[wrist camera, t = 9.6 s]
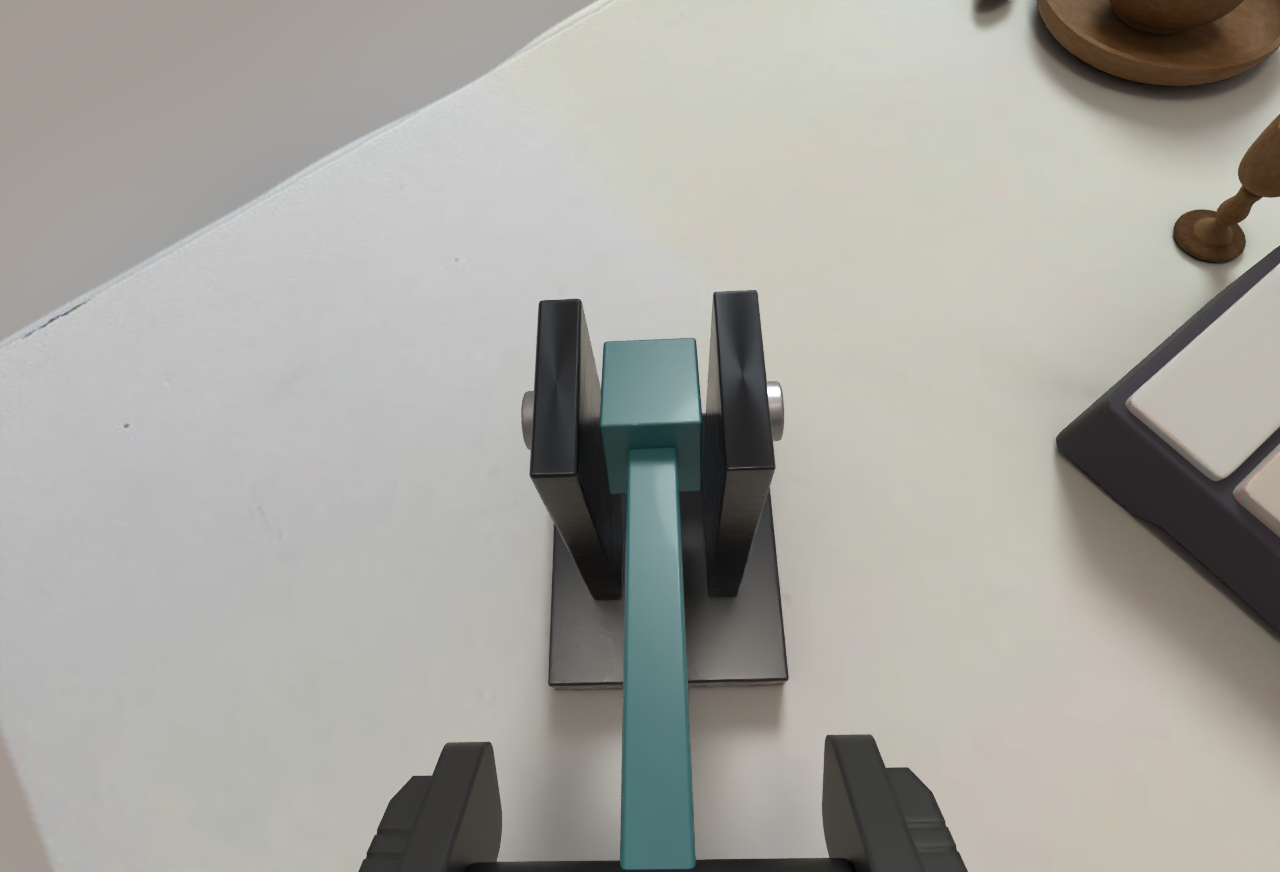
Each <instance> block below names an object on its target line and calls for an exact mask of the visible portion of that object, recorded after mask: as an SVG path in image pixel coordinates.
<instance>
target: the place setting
mask: <svg viewBox="0 0 1280 872" xmlns="http://www.w3.org/2000/svg"><path fill="white" fill-rule="evenodd" d="M1037 5H1038V8H1039V12H1040V15H1041V17H1042V19H1043V21H1044V23H1045V25H1046V27H1047V28H1048V30H1049V31H1050V32H1051V34H1052V35H1053V36H1054V38H1055V39H1056V40H1057V41H1058V42H1059V43H1060V44H1061V45H1062V46H1063V47H1064V48H1065V49H1067V50H1068V51H1069V52H1070V53H1072V54H1073V55H1074V56H1076V57H1077V58H1079V59H1080V60H1082V61H1084V62H1085V63H1087V64H1089V65H1091V66H1093V67H1095V68H1097V69H1099V70H1101V71H1104V72H1106V73H1109V74H1111V75H1114V76H1117V77H1121V78H1124V79H1127V80H1132V81H1136V82H1141V83H1147V84H1154V85H1166V86H1189V85H1198V84H1206V83H1211V82H1215V81H1220V80H1224V79H1227V78H1230V77H1233V76H1236V75H1238V74H1241V73H1243V72H1245V71H1247V70H1249V69H1251V68H1253V67H1255V66H1256V65H1258V64H1259V63H1260V62H1262V61H1263V60H1265V59H1266V58H1268V57H1269V56H1270V55H1271V54H1272V53H1273V52H1274V51H1275V50H1276V49H1277V48H1278V47H1279V46H1280V0H1037ZM1238 176H1239V180H1240V182H1241V184H1242V185H1243V186H1242V187H1241V188H1240V190H1239V192H1238V193H1237V194H1236V195H1235V196H1234V197H1232V198H1230V199H1228V200H1226V201H1224V202H1223V203H1222V204H1221V205H1220V206H1219V208H1218V210H1217V212H1215V211H1211V210H1194V211H1190V212H1187V213H1185V214H1183V215H1182V216H1181V217H1180V218H1179V219H1178V220H1177V222H1176V224H1175V227H1174V235H1175V238H1176V240H1177V242H1178V244H1179V245H1180V246H1181V247H1182V248H1183V249H1184V250H1185V251H1186V252H1188V253H1189V254H1191V255H1192V256H1194V257H1196V258H1199V259H1201V260H1205V261H1210V262H1225V261H1229V260H1231V259H1234V258H1235V257H1237V256H1238V255H1240V254H1241V252H1242V251H1243V249H1244V247H1245V243H1246V240H1245V235H1244V232H1243V231H1242V229H1241V228H1240V226H1239V225H1238V224H1237V223H1239V222H1241V221H1242V220H1244V219H1245V218H1246V217H1247V216H1248V214H1249V212H1250V209H1251V207H1252V205H1253V204H1254V203H1255V202H1256V201H1258V200H1259V199H1261V198H1262V197H1279V196H1280V114H1279V115H1278V116H1277V117H1276V118H1275V119H1274V121H1273V122H1272V123H1271V124H1270V125H1269V126H1268V127H1267V128H1266V129H1265V130H1264V131H1263V133H1262V134H1261V135H1260V136H1259V137H1258V138H1257V140H1256V141H1255V142H1254V143H1253V144H1252V146H1251V147H1250V148H1249V149H1248V151H1247V152H1246V154H1245V155H1244V157H1243V159H1242V160H1241V163H1240V165H1239V169H1238Z"/></svg>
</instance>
